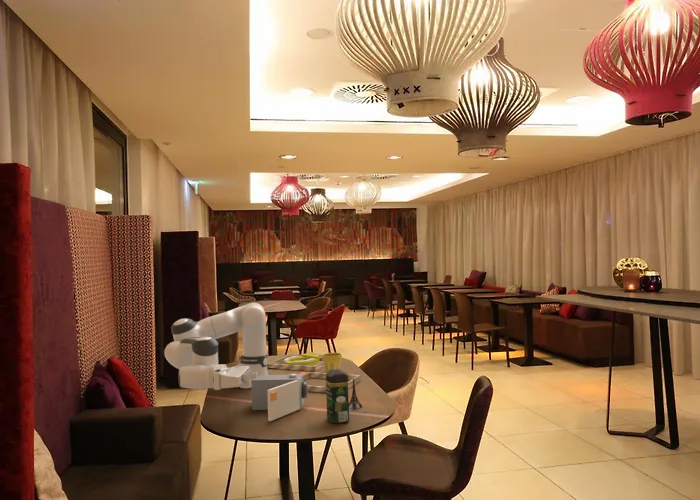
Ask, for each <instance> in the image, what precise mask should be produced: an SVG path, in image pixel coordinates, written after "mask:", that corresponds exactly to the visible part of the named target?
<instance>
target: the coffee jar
mask: <svg viewBox="0 0 700 500" xmlns="http://www.w3.org/2000/svg"><path fill="white" fill-rule="evenodd" d="M325 373H326V372H325ZM348 375H349V374H348V373H346V371H344V370H341V369H335V370H329V371H328V372H327V373H326V379H325V387H326V393H325V395H326V418H327V420H328V421H329V422H330V423H331V424H339V425H340V424H344V423H346V422H349V421H350V413H349V407H350V406H349V402H350V400H349V397H350V396H349V389H348V382H349V380H348Z"/></svg>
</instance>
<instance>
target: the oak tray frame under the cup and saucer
mask: <svg viewBox="0 0 700 500" xmlns="http://www.w3.org/2000/svg"><path fill="white" fill-rule="evenodd" d="M347 375H348V390H349V389H350V388H353V378H354V379H355V380H354V381H355V385H356V384H357V383H359V382H360V381H361V374H347ZM308 379H323V380H324V379H325V380H326V372H315V371H307V372H306V373H304V374H303V382H305V381H306V380H308ZM307 387H308V392H310V393H323V394H326V386H322V385H321V386H320V385H309V384H307Z"/></svg>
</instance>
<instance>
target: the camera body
mask: <svg viewBox="0 0 700 500" xmlns="http://www.w3.org/2000/svg"><path fill="white" fill-rule="evenodd" d="M303 375H304V374H301V373H299V374H298V373H289V374H268V375H258V377H257V378H256V379H252V388H251V409H252V411H268V395H267V390H269V389H272V388H275V387H278V386H280V385H283V384H286V383H289V382H292V381H295V380H297V378H300V383H301V409H300V410H302V409H303V406H304V405H305V399H307V398H308V387H307V385H308V382H307V381H303Z"/></svg>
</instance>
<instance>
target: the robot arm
mask: <svg viewBox="0 0 700 500" xmlns="http://www.w3.org/2000/svg"><path fill="white" fill-rule="evenodd" d="M266 318H267V316H266V311H265V309H264V307H263V306H262V305H261V304H260V303H258V302H251V303H250V302H249V303H247V304H244V305H241V306H238V307H236V308H233V309H231V310H227V311H224V312H221V313H218V314H214V315H212V316H208V317H204V318H202V319H200V320H199V321H196V320H193V319H191V318H188V317H187V318H180V319H178V320H176V321H174V322H173V323H172V325H171V326H170V328H171V331H170V332H171V334H172V336H173V341H171V342H170V343H168V344H166V347H165V348H164V351H163V352H164V358H165V359H166V360H167V362H168V363H169V364H170V365H171V366H173V367H174V368H176V369H178V375H177V376H178V380H177V381H178V385H179V387H180V388H183V389H184V388H186V389H193V390H194V389H196V390H197V389H199V390H200V389H204V388H208V389H213V390H215V391H219V390H222V389H231V388H239V387H240V389H252V379H256V378H257V377H258V375H269V372H268V370H269V369H268V368H267V364H268V354H267V335H266V334H267V329H266V328H267V323H266V322H267V319H266ZM240 331H242V355H241V356H239V357H238V360H240V362H239V363H238V364H237V365H236V366H231V367H228V366H227V364H226V363H225V364H223V363H222V364H221V363H220V364H219V342H218V340H217V339H219V338H224V337H226V336H229V335H233V334H235V333H237V332H240Z"/></svg>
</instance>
